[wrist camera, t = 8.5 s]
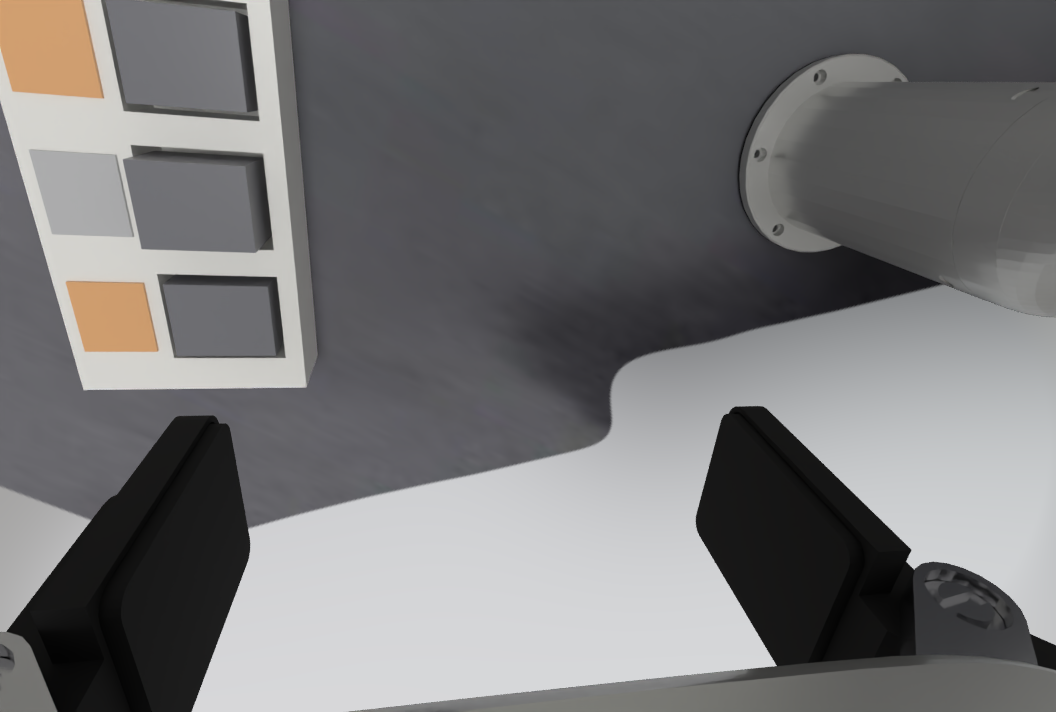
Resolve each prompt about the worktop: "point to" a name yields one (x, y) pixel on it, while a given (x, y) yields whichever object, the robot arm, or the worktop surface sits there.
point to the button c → (224, 315)
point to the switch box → (105, 204)
